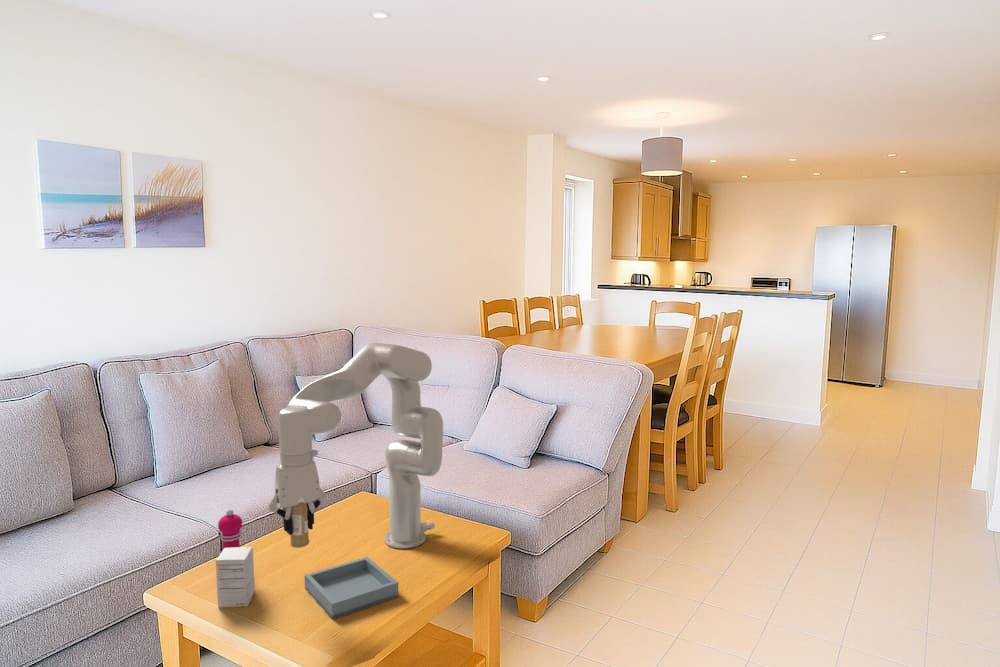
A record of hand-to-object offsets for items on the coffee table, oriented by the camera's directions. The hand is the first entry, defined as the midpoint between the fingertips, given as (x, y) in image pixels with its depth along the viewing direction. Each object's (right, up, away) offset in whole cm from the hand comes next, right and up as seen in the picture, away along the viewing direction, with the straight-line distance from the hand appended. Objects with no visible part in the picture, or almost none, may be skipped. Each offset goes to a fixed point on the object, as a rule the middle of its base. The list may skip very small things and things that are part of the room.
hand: (299, 529), depth 163 cm
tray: (+11, -20, +10) cm, 25 cm away
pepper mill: (-23, -19, +16) cm, 34 cm away
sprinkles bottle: (0, -4, +1) cm, 4 cm away
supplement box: (-18, -20, +7) cm, 28 cm away
